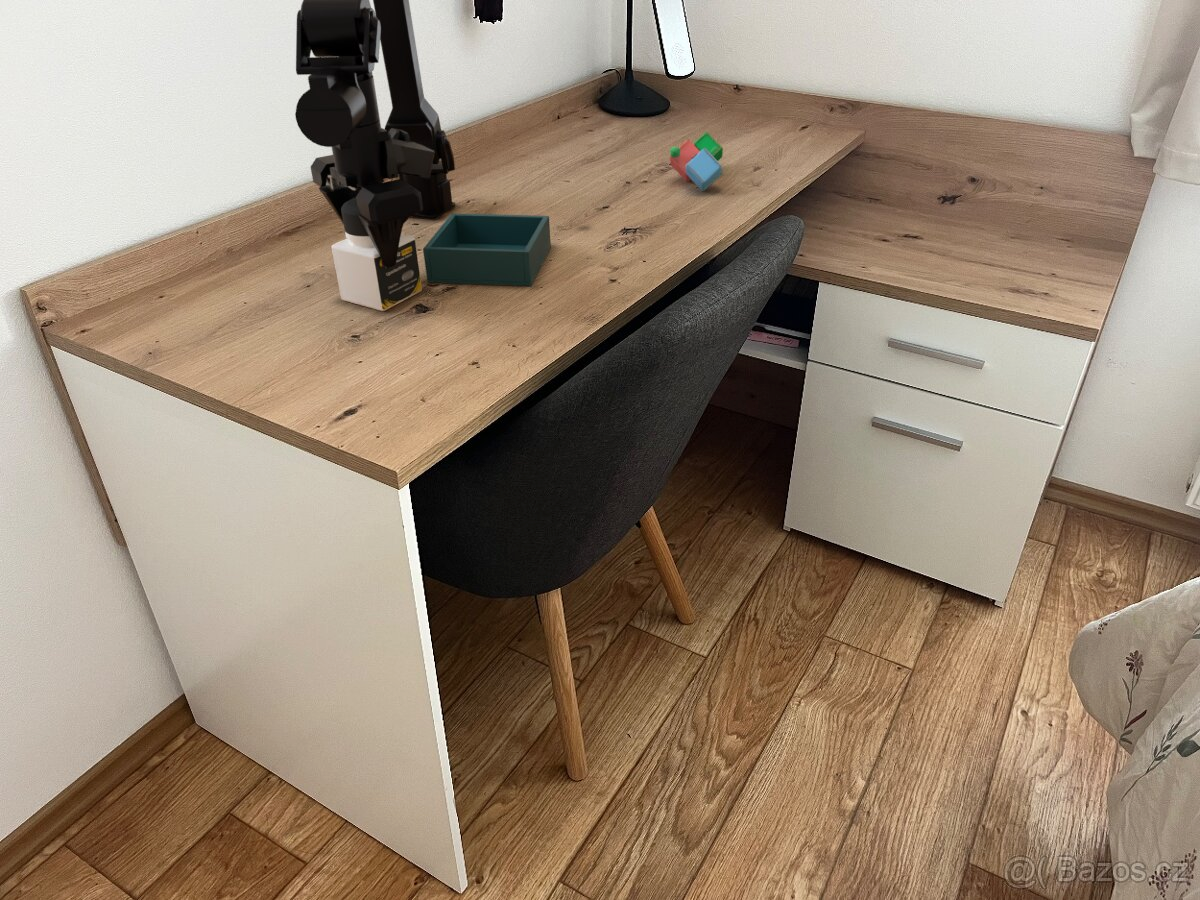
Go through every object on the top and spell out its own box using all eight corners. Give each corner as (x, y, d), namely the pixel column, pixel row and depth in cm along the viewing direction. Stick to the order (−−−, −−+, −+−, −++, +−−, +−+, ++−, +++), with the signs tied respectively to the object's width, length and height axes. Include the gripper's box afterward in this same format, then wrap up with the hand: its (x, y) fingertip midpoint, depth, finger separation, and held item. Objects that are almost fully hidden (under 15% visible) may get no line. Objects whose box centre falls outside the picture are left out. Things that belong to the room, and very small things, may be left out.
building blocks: (703, 206, 153) (702, 183, 141) (669, 171, 154) (666, 145, 142) (739, 173, 153) (741, 147, 141) (705, 138, 154) (705, 109, 142)
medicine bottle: (383, 312, 111) (367, 214, 105) (340, 300, 115) (321, 204, 108) (423, 291, 116) (410, 195, 110) (380, 280, 120) (365, 187, 113)
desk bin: (427, 282, 119) (422, 248, 116) (455, 244, 129) (451, 213, 127) (531, 286, 117) (528, 251, 114) (550, 247, 127) (549, 215, 125)
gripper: (457, 126, 101) (472, 263, 110) (386, 95, 114) (404, 220, 123) (360, 144, 96) (383, 286, 105) (297, 110, 109) (323, 239, 118)
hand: (375, 255), depth 113 cm, fingers closed on medicine bottle, 8 cm apart
